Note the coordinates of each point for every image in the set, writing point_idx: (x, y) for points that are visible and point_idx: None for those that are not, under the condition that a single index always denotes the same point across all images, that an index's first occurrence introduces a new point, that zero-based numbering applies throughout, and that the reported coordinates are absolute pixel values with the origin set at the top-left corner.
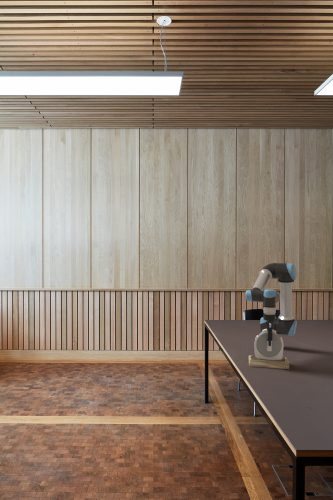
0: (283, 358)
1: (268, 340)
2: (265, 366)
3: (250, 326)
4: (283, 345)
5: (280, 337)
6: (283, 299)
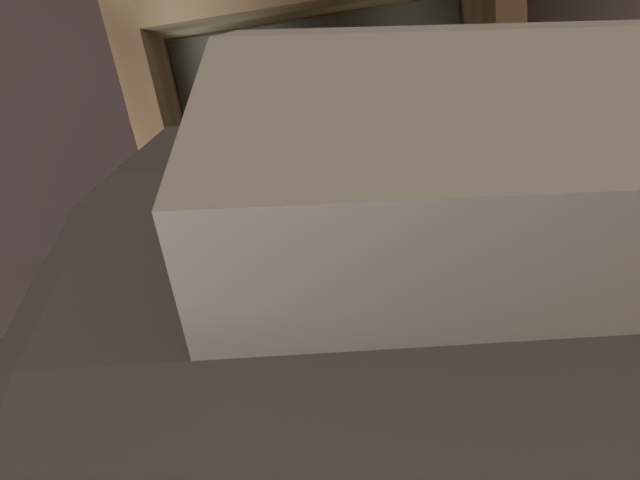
0: (152, 66)
1: None
2: None
3: None
4: (589, 21)
5: (426, 314)
6: None
